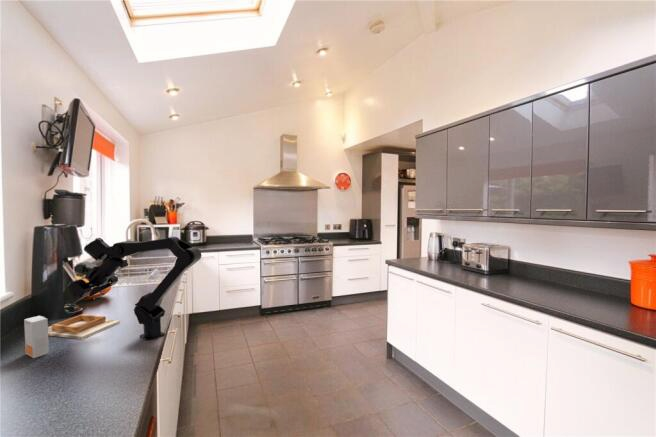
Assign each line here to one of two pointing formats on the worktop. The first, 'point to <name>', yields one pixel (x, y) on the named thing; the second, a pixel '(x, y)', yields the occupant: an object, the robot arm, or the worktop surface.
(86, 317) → the socket stand
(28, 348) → the skincare box
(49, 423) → the worktop surface
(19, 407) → the worktop surface
